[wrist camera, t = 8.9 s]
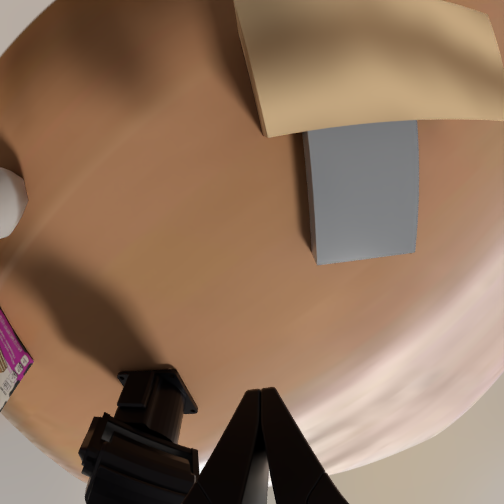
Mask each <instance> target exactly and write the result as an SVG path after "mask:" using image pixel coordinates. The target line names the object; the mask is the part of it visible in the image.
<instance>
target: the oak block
mask: <svg viewBox="0 0 504 504" xmlns="http://www.w3.org/2000/svg"><path fill="white" fill-rule="evenodd" d="M233 1H234V7H235V14H236V21H237V27H238V34H239V37H240V41H241V45H242V49H243V53H244V57H245V61H246V65H247V69H248V73H249V77H250V81H251V85H252V90H253V94H254V98H255V102H256V107H257V111H258V115H259V120H260V124H261V128H262V133H263V136H265V137H267V138H270V137H275V136H281V135H286V134H292V133H298V132H304V131H311V130H317V129H324V128H331V127H339V126H348V125H357V124H366V123H377V122H390V121H406V120H430V119H473V120H496V121H504V68H503V64H502V59H501V56H500V52H499V48H498V45H497V41H496V38H495V34H494V31H493V28H492V25H491V22H490V19H489V17H488V14H485V13H482V12H479V11H476V10H473V9H470V8H467V7H464V6H460V5H457V4H453V3H450V2H446V1H442V0H233Z"/></svg>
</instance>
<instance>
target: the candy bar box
mask: <svg viewBox="0 0 504 504" xmlns="http://www.w3.org/2000/svg"><path fill="white" fill-rule="evenodd" d="M33 362H34V361H33V360H32V358H31V357H30V356H29V354H28V353H27V351H26V350H25V348H24V347H23V345H22V344H21V342H20V340H19V339H18V337H17V336H16V334H15V333H14V331H13V329H12V328H11V326H10V324H9V323H8V321H7V319H6V317H5V316H4V314H3V312H2V310H1V308H0V412H1V410H2V409H3V407H4V405H5V404H6V402H7V401H8V399H9V397H10V396H11V394H12V393H13V391H14V390H15V388H16V387H17V385H18V384H19V382H20V381H21V379H22V378H23V376H24V375H25V374H26V372H27V371H28V369H29V368H30V367H31V365H32V364H33Z"/></svg>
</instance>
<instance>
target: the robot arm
mask: <svg viewBox="0 0 504 504" xmlns="http://www.w3.org/2000/svg"><path fill="white" fill-rule="evenodd" d="M117 377H118V379H119V381H120V382H121V383H122V385H123V386H124V387H123V390H122V392H121V395H120V397H119V400H118V402H117V406H118V408H117V410H116V413H115V416H114V417H111V416H110V414H108V413H106V412H104V415H103V417H94V418H93V420H92V423H91V425H90V427H89V430H88V432H87V434H86V436H85V438H84V441H83V443H82V445H81V447H80V450H79V452H78V454H79V456H80V458H81V460H82V464H81V465H83V466H84V467H83V470H82V474H84V475H86V476H88V477H90V478H89V481H88V484H87V487H86V492H85V501H86V504H267V491H268V475H269V471H270V476H271V481H272V486H273V491H274V495H275V500H276V504H349V503H348V502H347V501H346V500H345V498H344V497H343V496H342V495H341V493H340V492H339V491H338V489H337V488H336V487H335V485H334V483H333V482H332V480H331V479H330V477H329V476H328V474H327V473H325V470H324V468H323V467H322V465H321V463H320V462H319V460H318V459H317V457H316V455H315V454H314V452H313V450H312V449H311V447H310V446H309V444H308V442H307V441H306V439H305V437H304V436H303V434H302V432H301V431H300V429H299V427H298V426H297V424H296V422H295V421H294V419H293V417H292V416H291V414H290V412H289V411H288V409H287V407H286V405H285V404H284V402H283V400H282V399H281V397H280V395H279V393H278V392H277V390H276V388H275V387H268V388H262V389H261V390H260V389H252V390H247V391H246V392H245V394H244V396H243V398H242V400H241V402H240V404H239V405H238V407H237V409H236V411H235V413H234V415H233V417H232V418H231V420H230V422H229V424H228V426H227V428H226V429H225V431H224V433H223V435H222V437H221V438H220V440H219V442H218V444H217V446H216V447H215V449H214V451H213V453H212V454H211V456H210V458H209V459H208V461H207V463H206V465H205V466H204V468H203V470H202V471H201V473H200V475H199V461H198V450H196V449H193V448H191V449H190V448H187V447H184V446H181V445H178V439H179V434H180V429H181V423H182V418H183V414H195V413H197V412H198V407H197V406H196V404H195V402H194V401H193V399H192V397H191V395H190V394H189V392H188V390H187V389H186V387H185V385H184V383H183V381H182V380H181V378H180V376H179V374H178V373H177V371H175V370H172V369H169V370H154V371H132V372H119V373H118V375H117Z"/></svg>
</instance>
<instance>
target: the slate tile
mask: <svg viewBox="0 0 504 504" xmlns="http://www.w3.org/2000/svg"><path fill="white" fill-rule="evenodd" d="M302 136H303V146H304V156H305V166H306V177H307V189H308V202H309V216H310V232H311V251H312V255H313V257H314V259H315V262H316V264H317V265H323V264H331V263H339V262H347V261H355V260H362V259H370V258H377V257H385V256H392V255H399V254H406V253H413V252H415V247H416V236H417V222H418V202H419V149H418V130H417V120H406V121H390V122H377V123H366V124H357V125H348V126H339V127H331V128H324V129H317V130H311V131H304V132H302Z"/></svg>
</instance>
